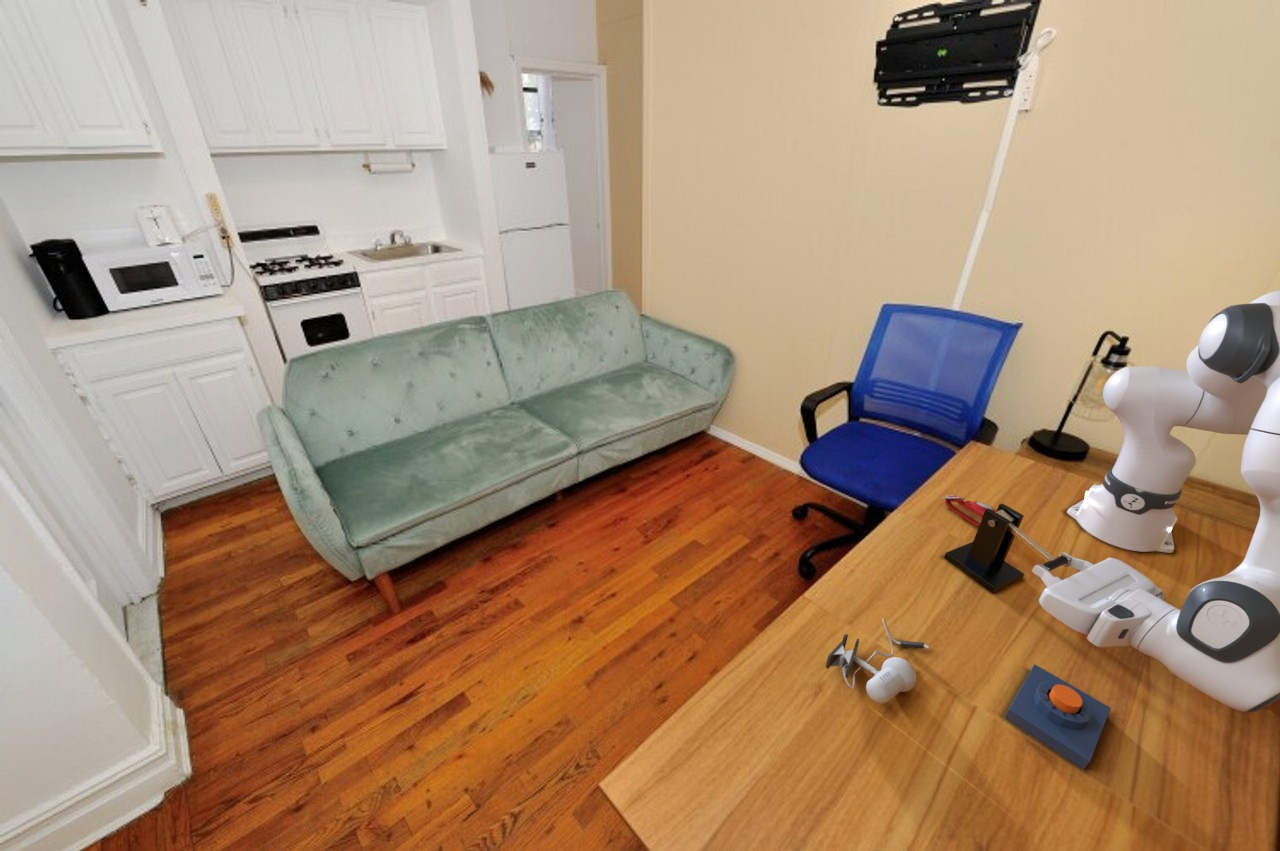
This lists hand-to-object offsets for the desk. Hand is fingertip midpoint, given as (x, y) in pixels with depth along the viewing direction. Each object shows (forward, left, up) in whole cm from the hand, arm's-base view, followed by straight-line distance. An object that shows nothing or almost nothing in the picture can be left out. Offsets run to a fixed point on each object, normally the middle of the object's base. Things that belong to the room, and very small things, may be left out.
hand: (1047, 561), depth 94 cm
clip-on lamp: (+36, -12, -10) cm, 39 cm away
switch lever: (-1, -5, 0) cm, 5 cm away
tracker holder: (-21, -18, -10) cm, 29 cm away
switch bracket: (-3, -9, -10) cm, 14 cm away
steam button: (+24, +10, -7) cm, 27 cm away
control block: (+24, +10, -10) cm, 28 cm away
